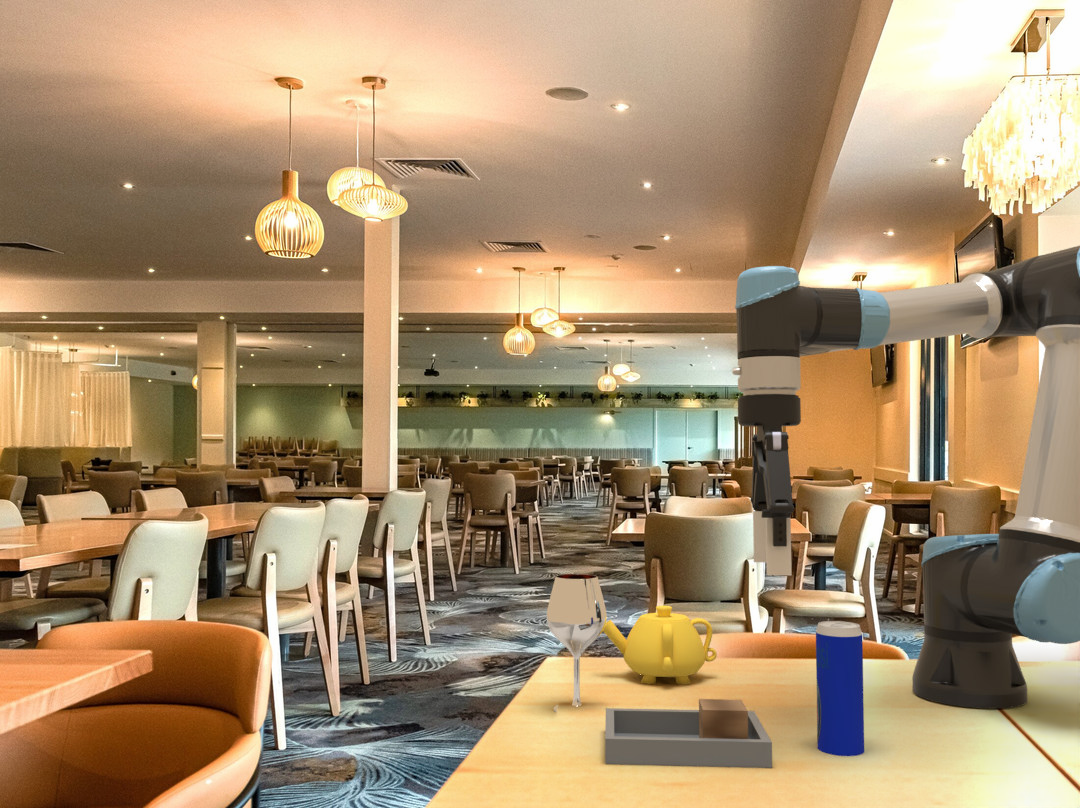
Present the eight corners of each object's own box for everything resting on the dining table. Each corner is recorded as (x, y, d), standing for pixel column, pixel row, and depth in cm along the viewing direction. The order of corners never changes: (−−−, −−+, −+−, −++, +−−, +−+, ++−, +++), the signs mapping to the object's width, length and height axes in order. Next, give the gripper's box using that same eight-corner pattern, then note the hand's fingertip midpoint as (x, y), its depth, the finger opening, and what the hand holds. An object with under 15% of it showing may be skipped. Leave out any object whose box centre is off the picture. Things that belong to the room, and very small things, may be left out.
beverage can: (828, 746, 116) (826, 619, 116) (871, 755, 112) (869, 623, 113) (810, 757, 112) (808, 624, 112) (854, 766, 108) (851, 629, 109)
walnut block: (742, 742, 114) (741, 699, 115) (748, 756, 109) (747, 710, 110) (699, 742, 115) (698, 698, 115) (703, 754, 110) (702, 709, 110)
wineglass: (556, 720, 127) (556, 581, 128) (539, 704, 135) (539, 574, 136) (615, 715, 129) (614, 579, 130) (595, 700, 137) (595, 572, 138)
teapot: (658, 664, 162) (657, 596, 162) (725, 677, 152) (724, 605, 152) (597, 677, 152) (597, 605, 152) (665, 693, 142) (664, 616, 142)
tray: (754, 740, 118) (754, 711, 118) (772, 775, 105) (771, 742, 105) (605, 737, 119) (605, 708, 120) (605, 771, 107) (605, 738, 107)
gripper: (729, 400, 132) (731, 557, 131) (748, 387, 108) (751, 581, 106) (785, 399, 132) (788, 557, 130) (817, 386, 107) (821, 581, 106)
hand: (771, 568), depth 118 cm, fingers open, 13 cm apart
